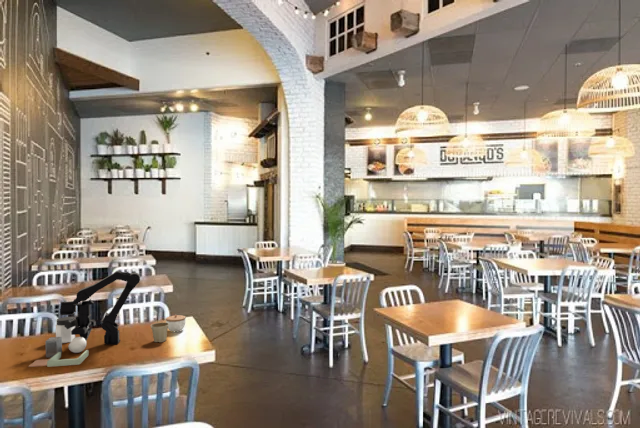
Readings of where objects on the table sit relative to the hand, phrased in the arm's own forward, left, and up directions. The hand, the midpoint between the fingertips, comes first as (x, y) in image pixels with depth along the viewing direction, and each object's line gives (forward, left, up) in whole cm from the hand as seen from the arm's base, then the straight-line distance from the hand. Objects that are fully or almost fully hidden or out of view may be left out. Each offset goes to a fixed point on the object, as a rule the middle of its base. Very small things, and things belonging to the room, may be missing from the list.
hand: (84, 343), depth 228 cm
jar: (+13, -12, -2) cm, 18 cm away
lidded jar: (-43, -19, -2) cm, 47 cm away
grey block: (+10, +12, -2) cm, 15 cm away
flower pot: (-37, -1, -2) cm, 37 cm away
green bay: (0, +22, -2) cm, 22 cm away
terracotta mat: (+11, +23, -2) cm, 25 cm away
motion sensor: (0, +10, -2) cm, 10 cm away
